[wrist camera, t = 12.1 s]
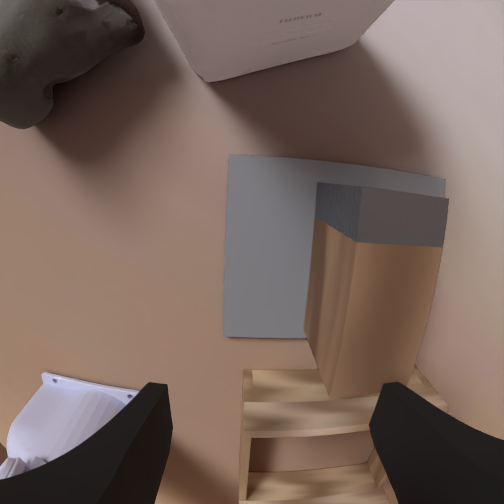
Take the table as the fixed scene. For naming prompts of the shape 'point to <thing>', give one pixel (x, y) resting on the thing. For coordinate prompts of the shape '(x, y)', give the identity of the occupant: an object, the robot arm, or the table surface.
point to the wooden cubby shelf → (311, 424)
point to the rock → (56, 48)
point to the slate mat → (284, 235)
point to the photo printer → (263, 31)
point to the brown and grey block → (371, 284)
